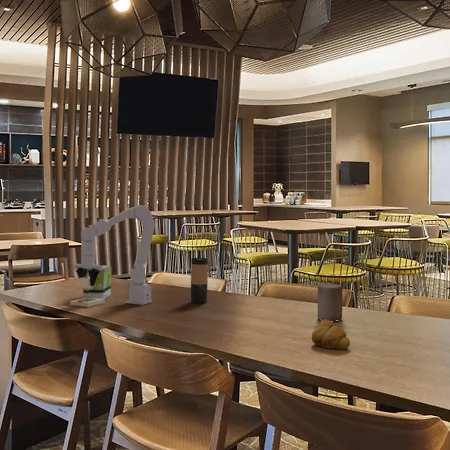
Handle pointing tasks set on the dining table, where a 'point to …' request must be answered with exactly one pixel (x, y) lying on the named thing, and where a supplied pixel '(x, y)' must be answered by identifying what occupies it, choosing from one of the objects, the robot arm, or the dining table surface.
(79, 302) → the socket plate
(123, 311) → the dining table surface
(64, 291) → the dining table surface
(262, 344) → the dining table surface
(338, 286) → the pillar candle
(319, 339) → the bread roll
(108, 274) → the tea box
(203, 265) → the travel mug
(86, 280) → the plug
